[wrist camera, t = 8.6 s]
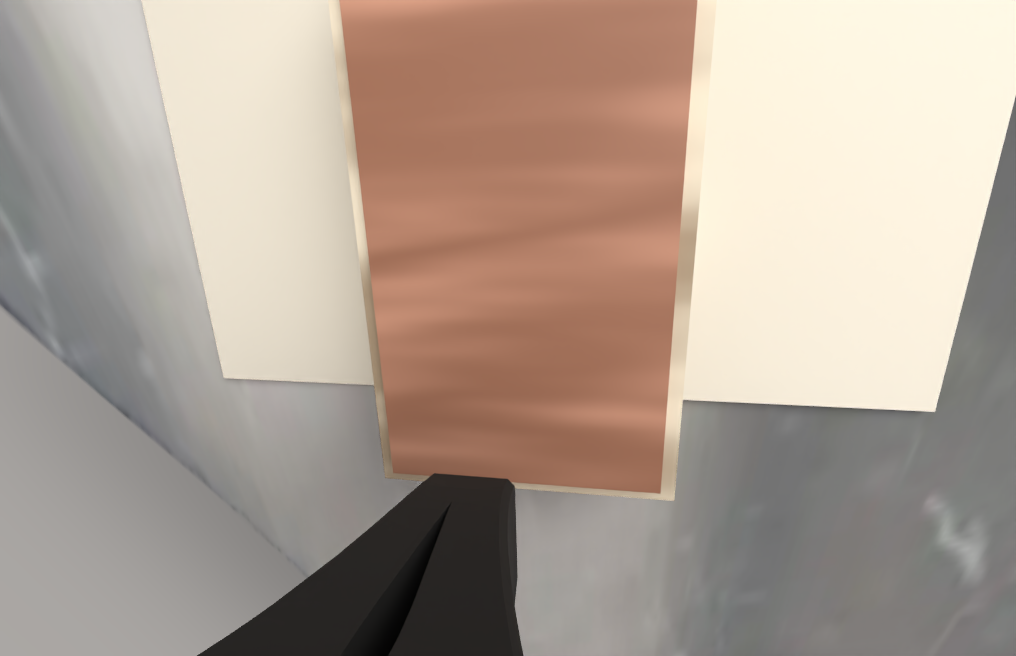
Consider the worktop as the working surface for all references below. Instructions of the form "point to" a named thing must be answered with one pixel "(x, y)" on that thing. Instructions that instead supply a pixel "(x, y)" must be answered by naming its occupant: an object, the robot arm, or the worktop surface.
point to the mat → (723, 197)
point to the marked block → (527, 231)
